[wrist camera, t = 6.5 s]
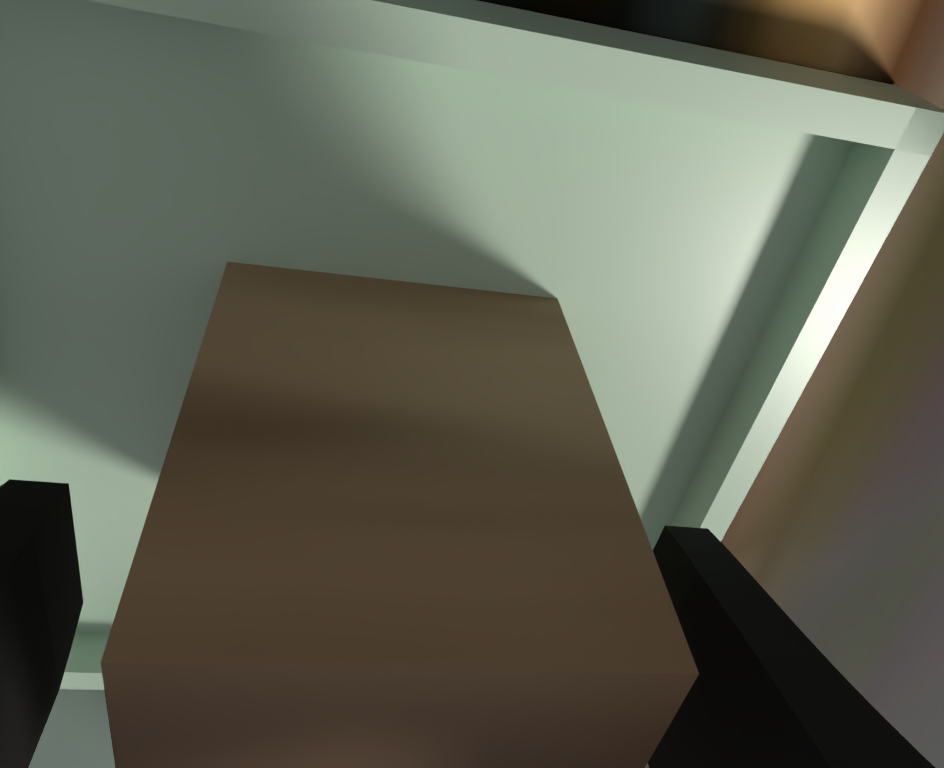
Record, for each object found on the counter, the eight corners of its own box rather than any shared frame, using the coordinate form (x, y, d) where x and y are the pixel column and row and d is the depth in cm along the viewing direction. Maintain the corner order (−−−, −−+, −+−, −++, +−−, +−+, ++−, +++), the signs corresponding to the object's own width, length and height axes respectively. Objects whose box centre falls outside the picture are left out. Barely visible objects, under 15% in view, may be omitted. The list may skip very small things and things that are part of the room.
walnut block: (494, 522, 14) (561, 911, 9) (225, 508, 13) (139, 929, 8) (557, 298, 11) (700, 674, 6) (226, 262, 10) (100, 662, 5)
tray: (618, 651, 17) (633, 701, 16) (11, 629, 15) (-14, 687, 14) (898, 85, 10) (952, 115, 9) (-147, -126, 8) (-220, -117, 7)
